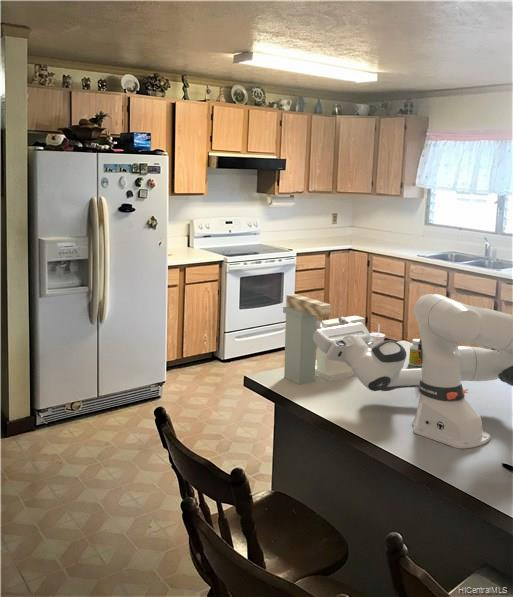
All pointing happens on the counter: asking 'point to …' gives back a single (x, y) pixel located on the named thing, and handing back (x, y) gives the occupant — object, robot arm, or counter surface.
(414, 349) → the supplement bottle
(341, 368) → the white slab on base
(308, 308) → the rod
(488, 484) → the counter surface
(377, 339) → the smoothie
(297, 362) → the tall grey square pillar
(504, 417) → the counter surface
